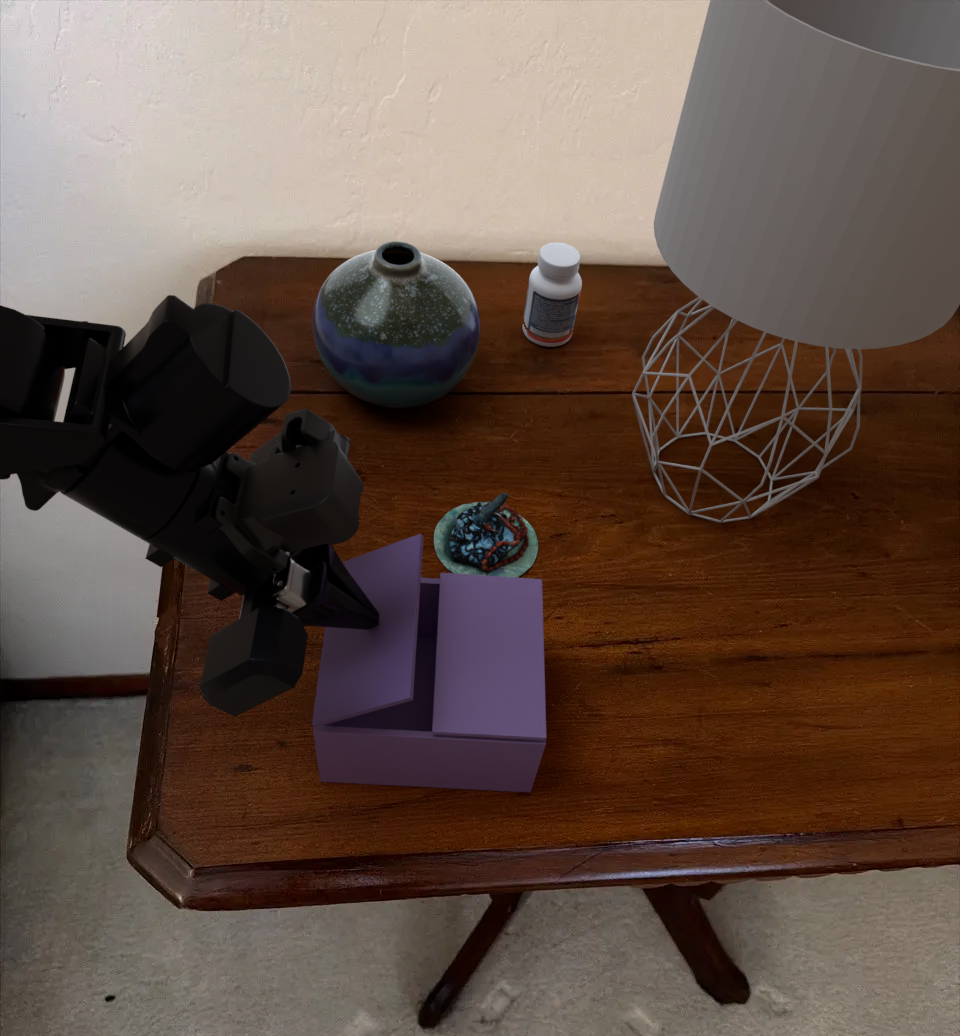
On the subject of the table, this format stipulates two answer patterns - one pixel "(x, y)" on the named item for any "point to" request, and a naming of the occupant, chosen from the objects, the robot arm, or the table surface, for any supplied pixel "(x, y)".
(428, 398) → the vase
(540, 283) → the pill bottle
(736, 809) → the table surface
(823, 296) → the table lamp
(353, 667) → the flap
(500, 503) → the dish
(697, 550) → the table surface
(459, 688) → the file box
